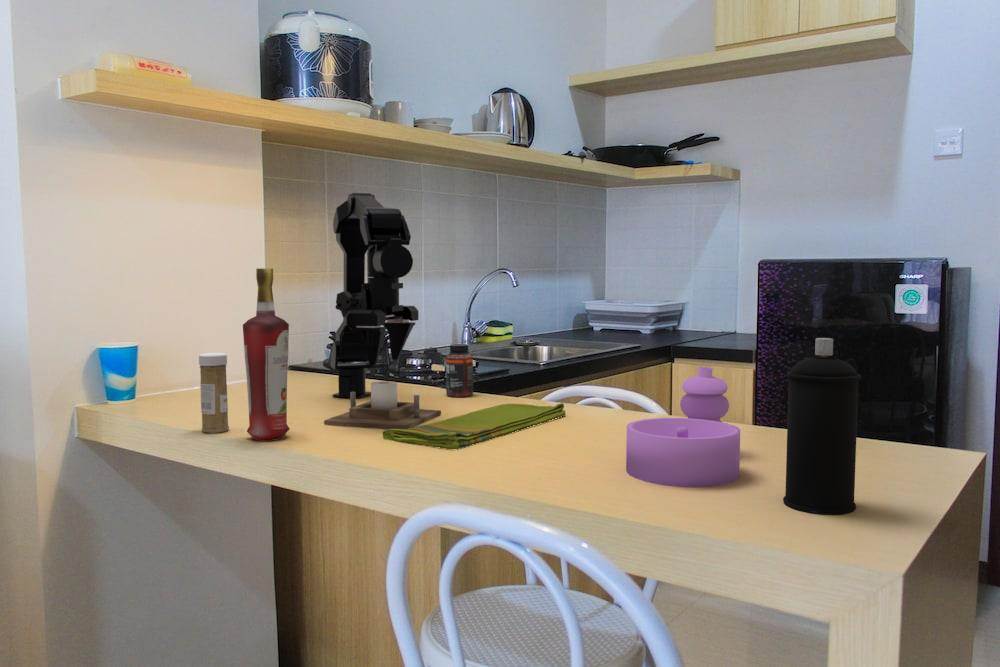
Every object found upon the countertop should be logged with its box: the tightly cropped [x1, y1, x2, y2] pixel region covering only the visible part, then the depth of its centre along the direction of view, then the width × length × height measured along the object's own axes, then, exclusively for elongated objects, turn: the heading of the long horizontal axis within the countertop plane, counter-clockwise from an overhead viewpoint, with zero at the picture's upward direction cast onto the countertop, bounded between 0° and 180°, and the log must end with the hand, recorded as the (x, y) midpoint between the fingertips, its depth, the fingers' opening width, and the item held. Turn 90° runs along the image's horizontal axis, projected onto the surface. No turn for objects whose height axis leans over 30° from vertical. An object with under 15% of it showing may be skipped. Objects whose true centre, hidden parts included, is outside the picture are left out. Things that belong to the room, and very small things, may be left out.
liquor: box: [242, 268, 290, 442], centre depth 138 cm, size 7×7×28 cm
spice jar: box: [198, 352, 230, 434], centre depth 145 cm, size 5×5×14 cm
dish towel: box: [382, 402, 566, 450], centre depth 149 cm, size 15×36×3 cm, turn 146°
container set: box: [625, 366, 741, 488], centre depth 120 cm, size 25×15×13 cm, turn 154°
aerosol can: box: [782, 337, 862, 515], centre depth 100 cm, size 8×8×20 cm
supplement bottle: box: [445, 343, 474, 398], centre depth 184 cm, size 6×6×11 cm
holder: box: [324, 392, 442, 430], centre depth 156 cm, size 16×16×5 cm
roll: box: [370, 380, 398, 409], centre depth 156 cm, size 5×5×6 cm
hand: (384, 362), depth 155 cm, fingers open, 9 cm apart
